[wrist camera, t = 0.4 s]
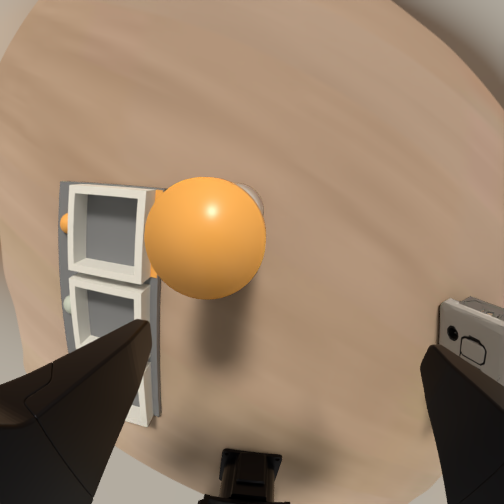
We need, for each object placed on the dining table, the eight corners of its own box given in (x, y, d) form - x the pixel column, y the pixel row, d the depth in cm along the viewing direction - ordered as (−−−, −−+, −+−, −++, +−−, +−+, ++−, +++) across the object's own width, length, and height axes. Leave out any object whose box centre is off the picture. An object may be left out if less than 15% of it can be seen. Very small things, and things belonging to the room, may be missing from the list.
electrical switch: (438, 298, 24) (505, 341, 15) (477, 282, 24) (544, 315, 15) (434, 379, 26) (482, 432, 17) (471, 361, 26) (521, 405, 16)
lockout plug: (263, 244, 23) (256, 307, 12) (203, 236, 24) (142, 289, 12) (271, 183, 22) (274, 185, 11) (209, 175, 23) (149, 171, 11)
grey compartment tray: (161, 412, 28) (153, 429, 25) (79, 387, 28) (67, 401, 25) (167, 188, 23) (154, 190, 20) (65, 181, 23) (46, 182, 20)
